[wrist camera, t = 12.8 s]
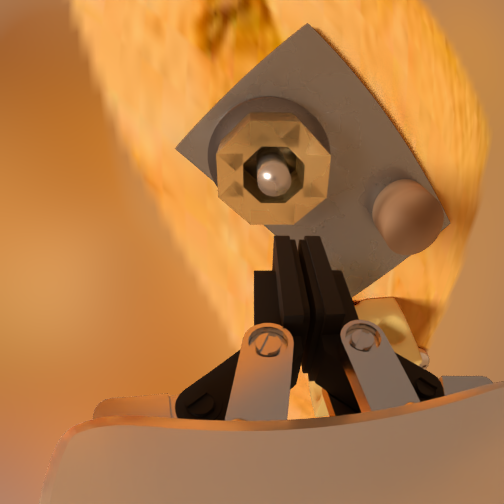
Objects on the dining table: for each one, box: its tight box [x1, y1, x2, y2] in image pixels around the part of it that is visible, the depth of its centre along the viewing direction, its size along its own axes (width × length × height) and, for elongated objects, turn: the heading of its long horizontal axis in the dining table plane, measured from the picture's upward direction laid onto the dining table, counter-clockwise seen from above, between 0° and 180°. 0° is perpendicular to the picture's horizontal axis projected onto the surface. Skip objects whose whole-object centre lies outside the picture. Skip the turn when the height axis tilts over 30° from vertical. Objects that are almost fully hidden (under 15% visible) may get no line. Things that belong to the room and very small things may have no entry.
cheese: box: [308, 297, 422, 417], centre depth 32 cm, size 10×11×10 cm
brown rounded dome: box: [372, 179, 444, 255], centre depth 25 cm, size 6×6×4 cm
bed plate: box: [175, 23, 450, 298], centre depth 25 cm, size 23×14×1 cm, turn 45°
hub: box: [208, 96, 331, 196], centre depth 21 cm, size 9×9×7 cm
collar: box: [216, 112, 331, 225], centre depth 20 cm, size 7×7×4 cm
